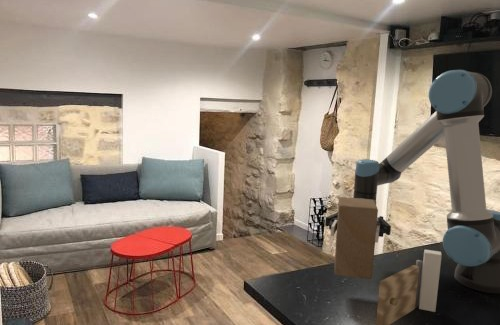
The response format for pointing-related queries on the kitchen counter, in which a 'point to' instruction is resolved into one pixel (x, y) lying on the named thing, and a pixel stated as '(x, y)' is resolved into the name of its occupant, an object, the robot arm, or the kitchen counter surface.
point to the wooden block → (355, 237)
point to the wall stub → (428, 280)
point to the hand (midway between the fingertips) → (354, 234)
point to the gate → (397, 295)
